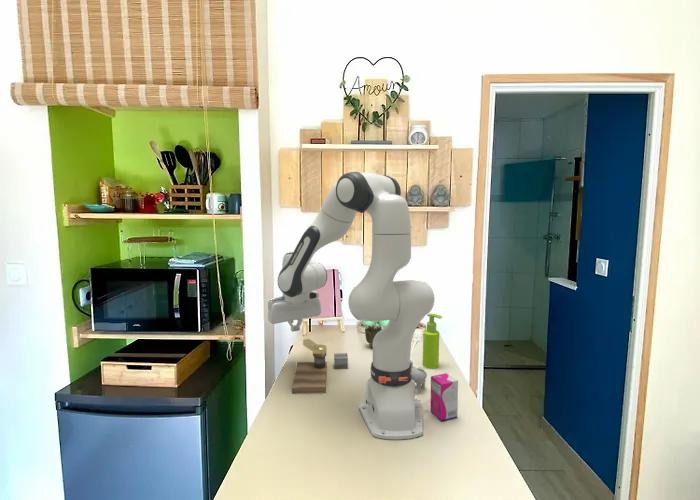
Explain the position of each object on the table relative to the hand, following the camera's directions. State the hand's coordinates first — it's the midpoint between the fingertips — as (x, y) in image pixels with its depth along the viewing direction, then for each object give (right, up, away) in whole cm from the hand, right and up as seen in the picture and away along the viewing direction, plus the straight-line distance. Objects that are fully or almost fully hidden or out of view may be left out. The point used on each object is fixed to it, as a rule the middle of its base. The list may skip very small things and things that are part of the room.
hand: (295, 330), depth 149 cm
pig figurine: (+40, -16, -15) cm, 46 cm away
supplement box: (+48, -18, -32) cm, 61 cm away
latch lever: (+7, -7, -1) cm, 10 cm away
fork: (+48, -11, +23) cm, 55 cm away
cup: (+30, -11, +20) cm, 38 cm away
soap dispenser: (+51, -14, +2) cm, 53 cm away
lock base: (+11, -15, -8) cm, 20 cm away
